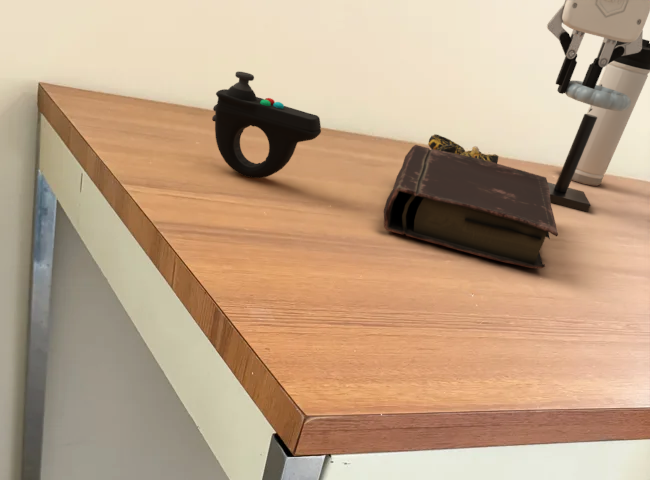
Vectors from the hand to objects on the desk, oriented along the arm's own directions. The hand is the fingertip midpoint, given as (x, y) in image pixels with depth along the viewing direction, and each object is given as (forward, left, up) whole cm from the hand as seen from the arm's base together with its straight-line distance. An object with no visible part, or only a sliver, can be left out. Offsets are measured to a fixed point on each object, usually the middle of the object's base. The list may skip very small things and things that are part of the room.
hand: (571, 93), depth 112 cm
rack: (-4, 0, -13) cm, 13 cm away
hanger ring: (-3, 0, +1) cm, 3 cm away
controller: (+35, +32, -13) cm, 50 cm away
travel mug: (-9, -19, -13) cm, 25 cm away
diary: (+10, +28, -13) cm, 33 cm away
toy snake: (+11, -2, -13) cm, 18 cm away
